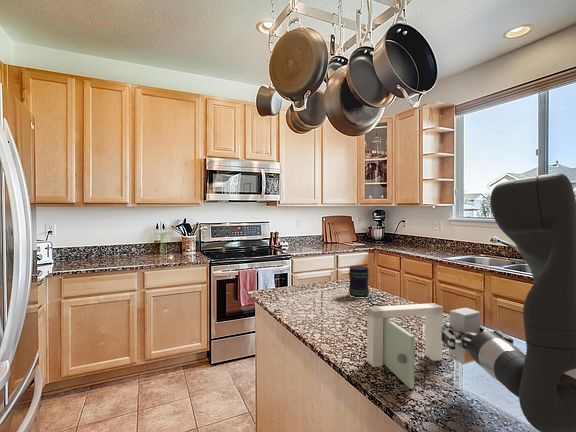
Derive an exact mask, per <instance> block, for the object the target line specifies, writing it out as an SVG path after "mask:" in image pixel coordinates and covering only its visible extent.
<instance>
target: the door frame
mask: <svg viewBox="0 0 576 432" xmlns="http://www.w3.org/2000/svg"><path fill="white" fill-rule="evenodd" d="M366 309H367V311H366V312H367V313H366V314H367V316H366V318H367V319H366V320H367V321H366V324H367V325H366V339H367V340H366V362H368V364H369V365H370V366H371V367H372V368H379V367H383V365H384V363H383V318H396V317H397V318H398V317H399V318H400V317H411V316H412V317H414V316H415V317H416V316H425V328H424V329H425V331H424V332H425V333H424V334H425V336H424V338H425V340H424V353H425V354H424V356H425V357H427V358H428V359H430V360H431V361H433V362H436V361H443V344H444V342H443V341H442V340H441V337H442V332H441V329H443V325H444V307H443V306H441V305H439V304H437V303H434V302H432V303H429V302H428V303H417V304H416V303H415V304H413V303H412V304H398V305H397V304H396V305H384V306H383V305H382V306H368V307H367V308H366Z"/></svg>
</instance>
